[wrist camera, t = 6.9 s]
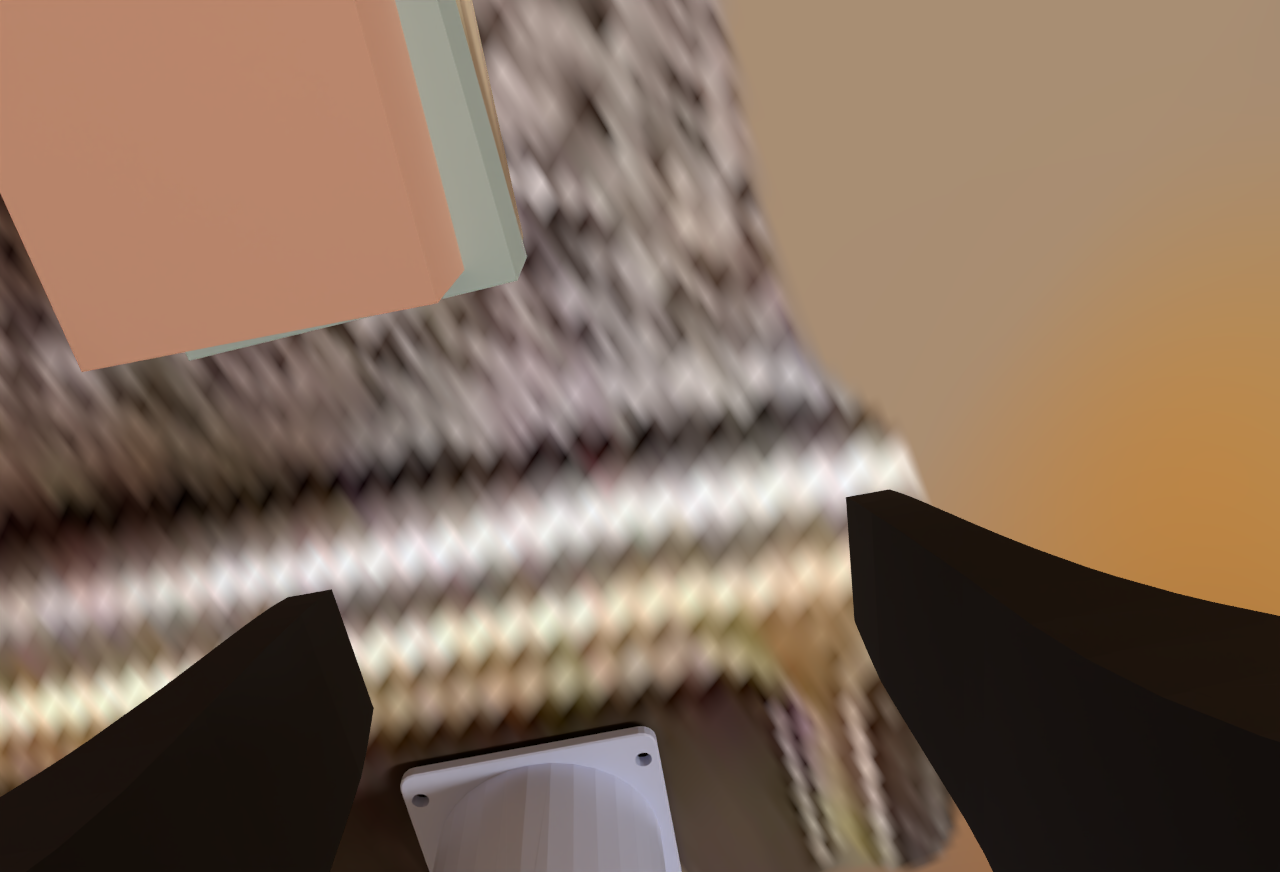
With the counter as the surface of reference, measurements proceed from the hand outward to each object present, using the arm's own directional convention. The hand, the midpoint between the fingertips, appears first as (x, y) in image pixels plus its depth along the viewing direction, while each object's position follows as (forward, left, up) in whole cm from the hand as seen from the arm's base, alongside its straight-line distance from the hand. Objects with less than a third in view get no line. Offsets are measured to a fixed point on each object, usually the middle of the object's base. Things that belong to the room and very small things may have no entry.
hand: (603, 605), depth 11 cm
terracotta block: (+7, +4, -5) cm, 9 cm away
